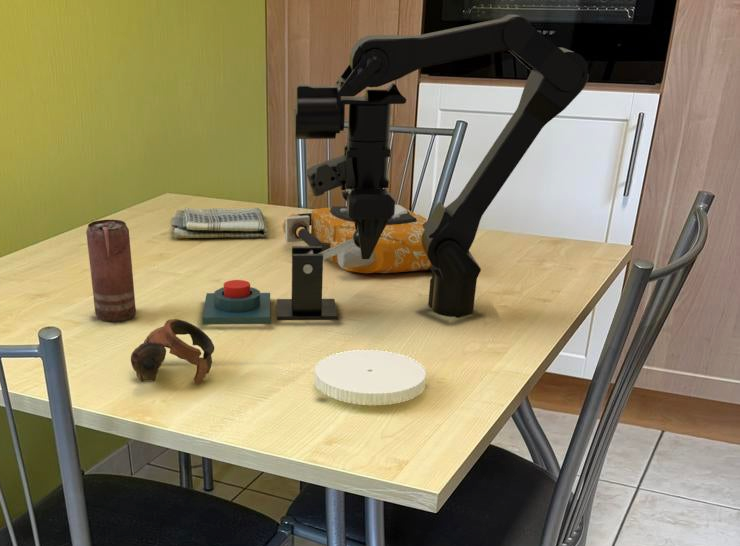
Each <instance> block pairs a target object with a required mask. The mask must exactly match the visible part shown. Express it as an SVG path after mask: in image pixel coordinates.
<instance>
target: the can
mask: <svg viewBox="0 0 740 546" xmlns="http://www.w3.org/2000/svg"><path fill="white" fill-rule="evenodd" d="M85 232H86V243H87V251H88V260H89V267H90V268H89V269H90V278H91V287H92V296H93V305H94V314H95V316H96V318H97V319H98V320H99V321H101V322H105V323H121V322H122V323H123V322H127V321H129V320H132V319H133V318H134V317H135V315H136V313H137V309H136V297H135V287H134V284H135V283H134V273H133V263H132V261H133V260H132V251H131V239H130V229H129V228H128V226H127V223H126V222H125V221H124V220H119V219H101V220H100V219H99V220H96V221H92V222H89V223H88V225H87V229H86V230H85Z"/></svg>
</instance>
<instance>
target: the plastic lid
mask: <svg viewBox="0 0 740 546" xmlns="http://www.w3.org/2000/svg"><path fill="white" fill-rule="evenodd" d="M313 375H314V376H313V377H314V378H313V381H314V382H313V383H314V386H315V387H316V388H317V390H318V391H319V392H321V394H324V395H325V396H327V397H328V398H331V399H334V400H336V401H339V402H343V403H348V404H353V405H360V406H361V405H363V406H382V405H383V406H387V405H392V404H393V405H396V404H400V403H405V402H406V401H407V402H408V401H409V400H412V399H415V398H416V397H418V396H420V395H421V394H422V393H423V392H424V390H425V389H426V384H427V383H426V381H427V370H426V368H425V366H424V365H423V364H422V363H421V362H420V361H417V360H416V359H414V358H413V357H410V356H407V355H406V354H405V355H403V354H402V353H398V352H394V351H386V350H380V349H378V350H377V349H354V350H353V349H351V350H345V351H341V352H337V353H333V354H330V355H326V356H325V357H324V358H322V359H321V360H319V361H318V362H317V363H316V364H315V367H314V374H313Z"/></svg>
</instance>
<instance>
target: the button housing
mask: <svg viewBox="0 0 740 546" xmlns="http://www.w3.org/2000/svg"><path fill="white" fill-rule="evenodd" d="M201 319H202V320H201V321H202V323H201V324H202V325H271V292H261V291H260V290H259V289H257V288H255V287H252V286H250V296H248V297H244V298H229V297H225V296H224V287H220V288H218V289H216V290H214V292H207V293H206V295H205V300H204V305H203V311H202V317H201Z"/></svg>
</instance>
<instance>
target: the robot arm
mask: <svg viewBox="0 0 740 546" xmlns="http://www.w3.org/2000/svg"><path fill="white" fill-rule="evenodd" d="M507 51H508V52H509V53H511V54H512V55H513V56H514V57H515V58H516V59H517V60H518V61H519V62H520V63H522V65H524V66H525V67H526V68H527V69H528V70H530V73H529V75H528V77H527V79H526V82H525V83H524V87H523V90H522V93H521V96H520V99H519V103H518V105H517V108H516V109H515V111H514V112H513V114H512V116H511V117H510V118H509V120H508V121H507V123H506V125H505V126H504V128H503V129H502V131H501V132H500V133H499V135H498V136H497V138H496V140H495V141H494V142H493V144H492V146H491V147H490V148H489V150H488V151H487V152H486V155H484V157H483V159H482V160H481V162H480V163H479V165H478V167H477V168H476V169H475V171H474V173H473V174H472V176H471V177H470V178H469V180H468V181H467V183H466V184H465V186H464V188H463V189H462V190H461V192H460V193H459V195H458V196H457V197H456V198H455V199H454V200H453V201H452V202H450V203H449V204H448V205H447V206H444V205H443V203H441V202H440V201H439V202H437V204H436V205H435V207H434V209H433V211H432V214H431V215H430V217H429V218H428V219H427V220H428V221H426V222H425V223H424V224H423V227H424V229H425V230H424V232H423V234H422V238H421V240H422V246H423V249H424V251H425V253H426V255H427V257H428V259H429V261H430V262H431V264H432V265H433V266H434V267H436V268H438V269H437V270H433V271H432V272H431V279H430V280H429V289H428V292H429V293H428V302H427V305H428V306H429V308H431V311H432V312H433V313H435V314H437V315H439V316H444V317H453V318H457V319H459V318H463V317H466V316H469V315H473V314H474V308H475V299H476V291H477V283H478V278H479V275H480V274H481V271H482V268H481V267H480V265H479V263H478V262H477V260H476V259H475V257H474V256H473V254H472V253H471V251H470V249H471V247H472V245H473V243H474V241H475V238H476V235H477V232H478V228H479V226H480V222H481V219H482V218H483V215H484V214H485V212H486V211H487V209H488V208H489V206H490V205H491V203H492V202H493V201H494V199H495V198H496V196H497V195H498V194H499V192H500V191H501V189H502V188H503V186H504V185H505V183H506V182H507V181H508V179H509V178H510V176H511V174H513V172H514V170H515V169H516V167H517V166H518V165H519V163H520V161H521V160H522V158H523V157H524V156H525V154H526V153H527V152H528V150H529V148H530V147H531V145H532V144H533V143H534V141H535V140H536V139H537V137H538V135H539V134H540V132H541V131H542V130H543V128H545V126H546V125H547V124H548V123H549V122H551V121H552V120H553V119H554V118H556V117H557V116H558V115H559V114H561V113H562V112H563V111H564V110H565V109H566V108H567V107H568V106H569V105H571V103H572V102H573V101H574V100H575V99H576V98H577V97H578V96H579V94H581V92H582V91H583V90H584V89H585V87H586V85H587V83H588V81H589V77H590V74H589V66H588V65H589V64H588V63H587V61H586V58H585V57H583V55H581V54H579V53H577V52H575V51H572V50H570V49H568V48H565V47H559V46H557V45H556V44H555V43H553V41H552V40H550V39H549V38H547V37H546V36H545V35H543V34H542V33H541V32H540V31H538V30H537V29H536V28H535V27H534V26H532V24H531V23H530V22H529V21H528V19H527V18H525V17H523V16H521V15H517V14H507V15H505V16H503V17H501V18H497V19H491V20H487V21H482V22H476V23H471V24H467V25H463V26H457V27H453V28H448V29H447V28H446V29H443V30H438V31H433V32H428V33H423V34H416V35H415V34H414V35H405V34H370V35H365V36H363V37H360V38H359V39H358V40H356V42H355V43H354V45H353V46H352V48H351V50H350V54H349V60H348V61H349V64H348V65H347V66H346V68H345V69H344V71H343V72H342V73H341V74H340V76H339V77H338V79H337V80H336V82H335V83H334V85H309V84H298V85H296V100H295V101H296V103H295V104H296V105H295V108H294V140H336V138H337V134H341V132H344V130H345V119H346V117H345V116H346V115H345V114H346V111H345V110H346V109H345V108H346V105H348V125H347V142H346V144H345V145H344V146H343V155H340V156H337V157H333V158H331V159H328V160H326V161H323V162H320V163H318V164H315V165H312V166H310V167H308V168H307V169H306V170H305V172H306V176H307V180H308V184H309V185H310V190H311V192H312V194H313V197H320V196H322V195H325V193H326V192H329V191H331V190H334V189H337V188H339V187H340V190H341V195H342V198H343V199H344V200H345V202H346V206H347V213H348V216H349V218H350V219H352V220H353V221H354V224H355V230H356V229H358V234H359V242H360V249H361V256H362V259H370V257H371V255H372V253H373V251H374V249H375V246H376V244H377V242H378V240H379V238H380V236H381V234H382V232H383V230H384V228H385V226H386V225H387V223H388V221H389V219H390V218H391V216H394V212H395V204H396V200H395V198H394V196H393V195H392V193H391V192H390V191H389V190H388V189H389V187H390V186H389V185H390V180H389V178H388V168H389V158H391V151H392V150H391V147H390V135H391V134H390V133H391V115H392V105H404V104H406V103H407V98H406V97H405V96H404V95H403V94H402V93H401V92H400V90H399V88H398V86H397V84H396V83H395V82H394V81H397V80H399V79H402V78H403V77H406V76H407V75H409V74H412V73H413V72H415V71H418V70H421V69H423V68H427V67H431V66H437V65H442V64H447V63H452V62H457V61H462V60H467V59H471V58H472V59H473V58H477V57H481V56H487V55H492V54H497V53H501V52H507ZM389 83H390V85H389V86H388V87H387V88H382V89H380V88H379V87H382V86H384V85H386V84H389ZM367 88H372V89H367ZM373 88H374V89H373ZM375 88H376V89H375ZM377 88H378V89H377ZM364 90H365V91H364ZM362 91H364V95H363V96H361V95H360V96H357V95H359V94H360V93H361V92H362Z"/></svg>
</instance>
